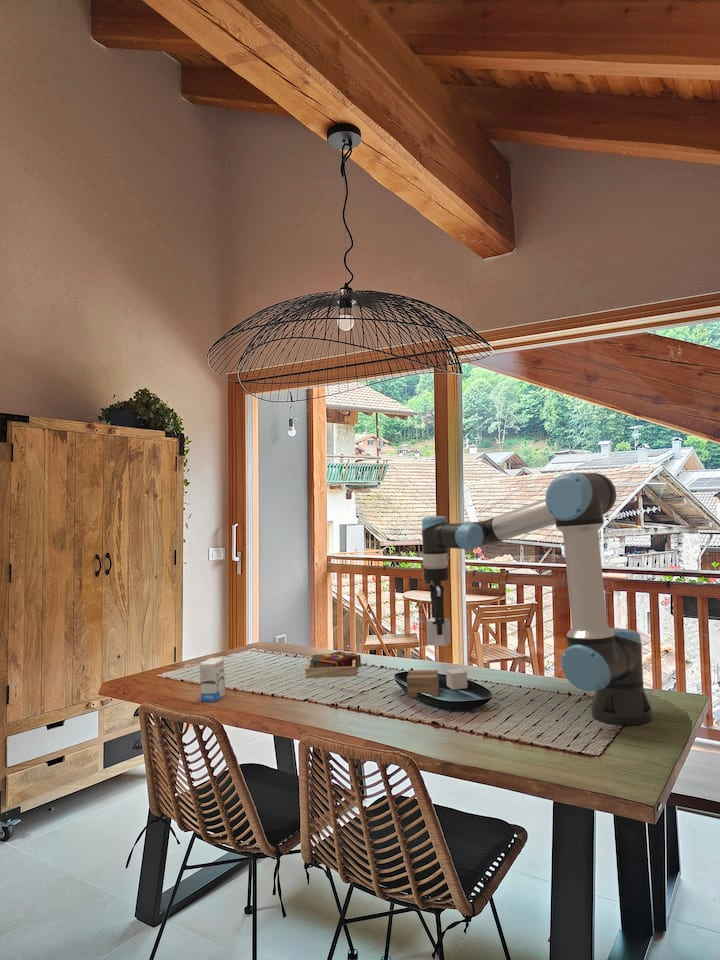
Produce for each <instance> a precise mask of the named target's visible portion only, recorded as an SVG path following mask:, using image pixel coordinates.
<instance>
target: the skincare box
mask: <svg viewBox="0 0 720 960" xmlns="http://www.w3.org/2000/svg"><path fill="white" fill-rule="evenodd" d="M444 620H445V622H444V644H445V646H444V647H447V646H448V645H449V644H450V643H451V621H450V620H451V619H450V617H449V618H445V617H444ZM433 622H435V618H432V617H430V618H429V619H428V620H426V644H427V646H434V647H436V646H435V625H434V624H433Z"/></svg>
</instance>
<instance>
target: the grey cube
mask: <svg viewBox="0 0 720 960" xmlns="http://www.w3.org/2000/svg"><path fill="white" fill-rule="evenodd" d="M445 675H446V676H445V677H446V686H447V687H448V688H449V689H451V690H453V691H454V690H460V689H461V690H462V689H468V671H466V670H464V669H462V668H454V669H452V668H451V669H446V670H445Z"/></svg>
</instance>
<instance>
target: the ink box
mask: <svg viewBox="0 0 720 960" xmlns="http://www.w3.org/2000/svg"><path fill="white" fill-rule="evenodd" d="M199 678H200V679H199V682H200V699H201V702H205V703H206V702H208V703H209V702H210V703H211V702H213V703H214V702H215V703H216V702H218V700H220V699H221V698H223V697H224V696H225V695H226V682H225V679H226V678H225V659H224V658H222V657H219V658H218V657H210V658H208V659H206V660H204V661H201V662H200V664H199Z"/></svg>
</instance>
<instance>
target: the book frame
mask: <svg viewBox="0 0 720 960" xmlns="http://www.w3.org/2000/svg"><path fill="white" fill-rule="evenodd" d="M349 653H350V654H357V652H349ZM330 654H331V653H320V654H319V653H317V654H310V656H309V658H308V661H307V664H306V667H305V678H306V679H307V678H314V679H315V678H329V677H330V678H331V677H332V678H333V677H353V676H354V677H355V676H356V671H357V667H356V659H355V660H353V662H352V666H348V667H325V668H313V662H311V659H315V658H320V657H323V655H330Z"/></svg>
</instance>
